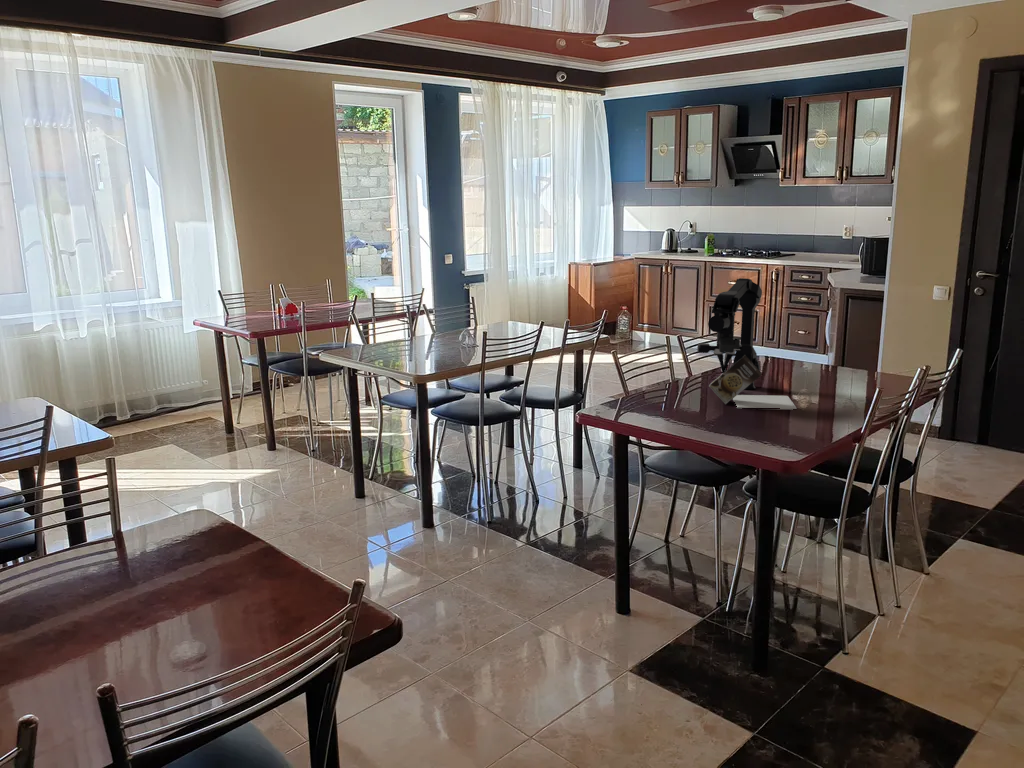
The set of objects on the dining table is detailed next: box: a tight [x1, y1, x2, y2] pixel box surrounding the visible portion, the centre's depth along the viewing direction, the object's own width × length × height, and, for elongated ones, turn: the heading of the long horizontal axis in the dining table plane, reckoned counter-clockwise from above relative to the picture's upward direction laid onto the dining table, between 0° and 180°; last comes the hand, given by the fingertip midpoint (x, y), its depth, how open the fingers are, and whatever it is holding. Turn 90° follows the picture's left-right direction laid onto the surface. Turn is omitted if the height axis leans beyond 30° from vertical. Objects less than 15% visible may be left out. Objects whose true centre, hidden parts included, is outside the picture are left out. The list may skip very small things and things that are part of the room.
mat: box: [732, 394, 797, 410], centre depth 284 cm, size 18×20×1 cm
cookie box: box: [708, 355, 762, 405], centre depth 282 cm, size 9×6×16 cm
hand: (723, 372), depth 284 cm, fingers closed
